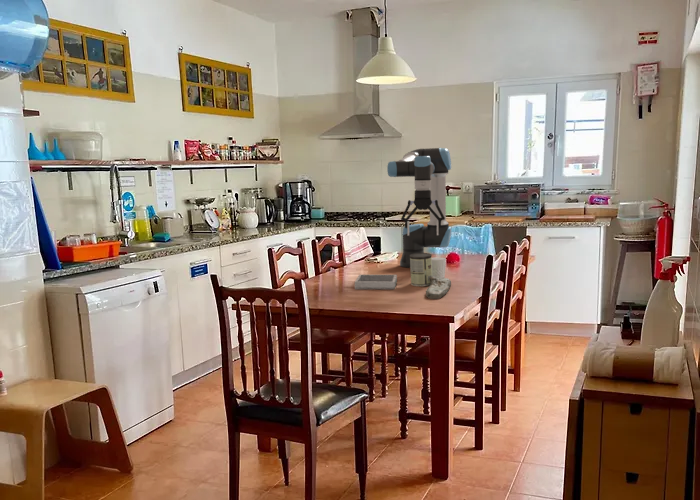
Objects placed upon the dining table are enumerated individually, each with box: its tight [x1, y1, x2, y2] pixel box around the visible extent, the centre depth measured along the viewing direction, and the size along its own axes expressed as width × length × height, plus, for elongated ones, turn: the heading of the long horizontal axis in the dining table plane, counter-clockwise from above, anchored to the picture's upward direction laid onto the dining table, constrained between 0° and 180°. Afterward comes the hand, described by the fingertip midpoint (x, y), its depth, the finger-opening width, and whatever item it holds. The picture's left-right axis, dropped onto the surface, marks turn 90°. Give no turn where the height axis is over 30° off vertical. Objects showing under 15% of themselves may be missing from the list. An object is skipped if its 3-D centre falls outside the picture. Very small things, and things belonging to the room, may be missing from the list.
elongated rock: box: [425, 276, 452, 300], centre depth 269 cm, size 35×5×10 cm
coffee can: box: [410, 252, 432, 287], centre depth 283 cm, size 10×10×14 cm
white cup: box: [431, 256, 447, 278], centre depth 297 cm, size 8×8×10 cm
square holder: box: [354, 274, 398, 291], centre depth 283 cm, size 18×18×4 cm
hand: (422, 235), depth 280 cm, fingers open, 13 cm apart
